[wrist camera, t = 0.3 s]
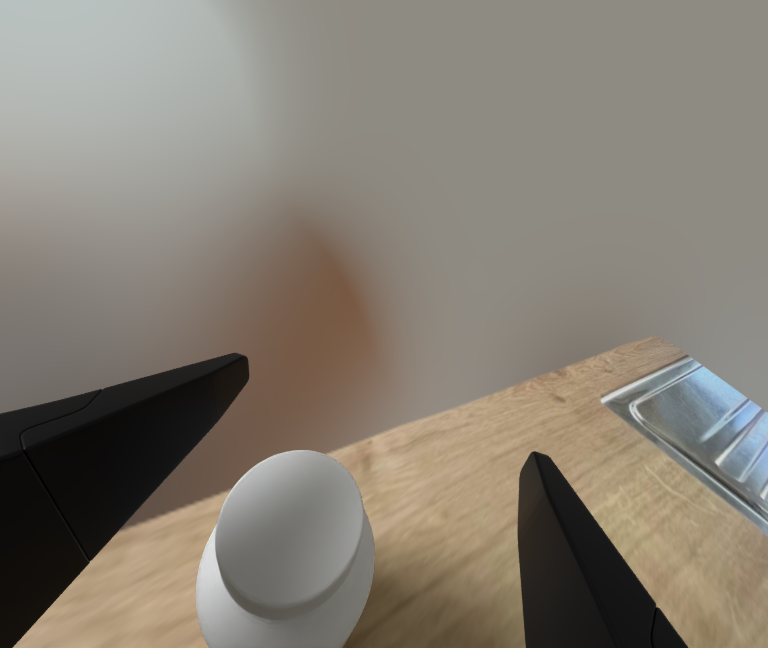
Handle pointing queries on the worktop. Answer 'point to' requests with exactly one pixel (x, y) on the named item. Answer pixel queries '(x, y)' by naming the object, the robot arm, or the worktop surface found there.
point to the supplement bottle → (287, 557)
